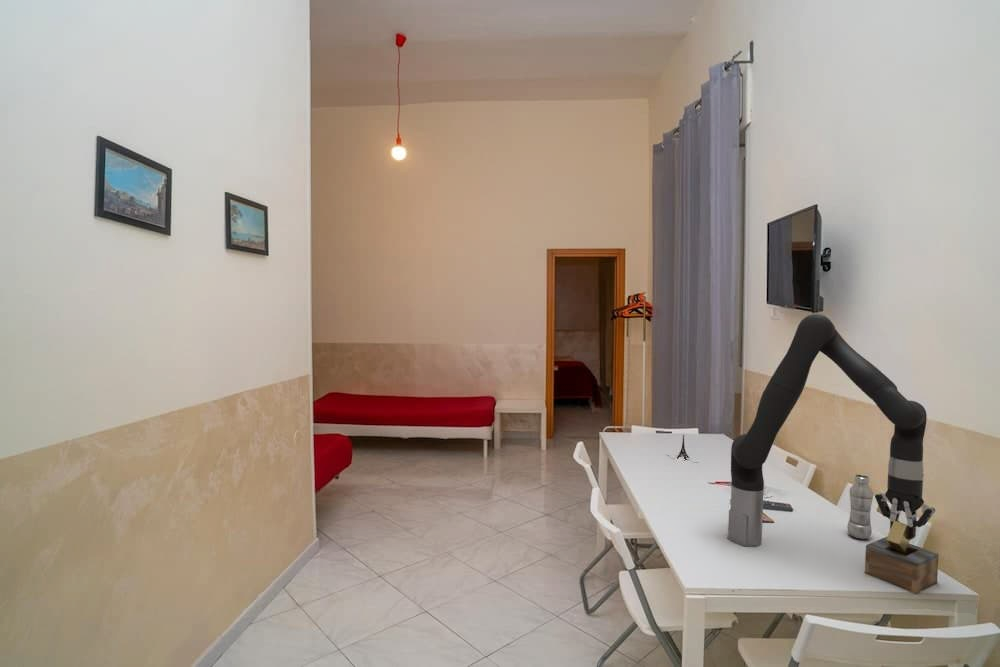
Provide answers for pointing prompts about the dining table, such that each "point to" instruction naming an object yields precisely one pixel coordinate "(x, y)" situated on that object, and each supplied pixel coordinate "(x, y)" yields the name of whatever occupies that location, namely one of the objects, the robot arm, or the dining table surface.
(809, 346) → the robot arm
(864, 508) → the plastic bottle
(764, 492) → the teacup and saucer
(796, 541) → the dining table surface
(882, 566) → the box
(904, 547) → the block
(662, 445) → the dining table surface
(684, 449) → the eiffel tower figurine
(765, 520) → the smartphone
